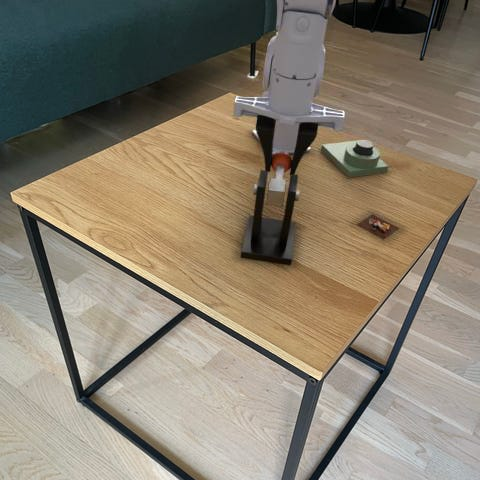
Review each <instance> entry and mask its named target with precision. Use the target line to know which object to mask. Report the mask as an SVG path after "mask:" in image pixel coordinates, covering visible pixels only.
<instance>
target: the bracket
mask: <svg viewBox="0 0 480 480" xmlns="http://www.w3.org/2000/svg"><path fill="white" fill-rule="evenodd" d="M268 175H269V172H268V171H267V170H265V169H260V172H259V177H258V181H257V183H254V184H253V190H252V195H253V196H255V199H254V201H255V202H254V210H253V215H249V216H248V219H247V224H246V229H245V232H244V237H243V241H242V245H241V250H240V258H243V259H248V260H256V261H261V262H268V263H275V264H282V265H288V266H291V265H292V262H293V256H294V247H295V237H296V236H295V235H296V228H297V221H292V218H293V214H294V213H293V212H294V207H295V202H299V199H300V194H301V193H300V192H301V191H300V189H298V182H299V181H298V180H299V174H296V173H295V174H291V175H289V176H290V178H289V182H288V188H287V194H286V199H285V200H286V201H285V204H284V205H285V206H284V211H283V218H282V219H278V218H277V219H276V218H270V217H263V214H264V207H265V199H266V192H267V185H268V184H267V183H268Z"/></svg>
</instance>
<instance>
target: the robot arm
mask: <svg viewBox="0 0 480 480" xmlns="http://www.w3.org/2000/svg"><path fill="white" fill-rule="evenodd" d="M336 1H337V0H276V23H275V30H277V32H276V34H275V35H274V36H273V37H271V38H270V41H269V42H268V43H267V49H266V53H265V58H264V66H263V74H262V84H261V87H262V89H263V90H264V91H263V93H262V94H261V96H251V97H250V96H238V95H236V96H235V99H234V101H233V111H232V112H233V113H232V116H233V117H237V118H241V117H242V116H244V117H245V116H246V117H252V118H256V121H255V122H256V123H255V129H253V130H252V134H253V136H255V138H256V139H257V140H258V141H259V143H260V146H261V148H262V154H263V160H264V170H267V171H268V173H270V172H271V168H272V166H271V159H272V157H273V155H274V154H275V153H277V152H279V151H284V152H287V153H288V154H289V155H290V154H293V155H292V157H291V158H292V165H291V168H290V169H289V176H291V174H295V175H296V171H297V168H298V167H299V165H300V162H301V160H302V159H303V157H304V155H305V154H306V152H310V151H311V150H312V148H311V147H310V146H311V145H312V144H313V143H314V141H316V138H317V136H318V130H319V127H322V128H330V129H333V131H337V132H342V131H343V127H344V123H345V118H346V117H345V115H346V114H345V111H344V110H339V109H336V108H335V109H334V108H331V107H327V106H324V105H320V104H317V103H314V98H316V97H317V96H318V95H320V91H321V87H322V83H323V77H324V70H325V61H326V60H325V59H326V54H327V53H326V52H327V51H326V49H325V45H324V42H325V37H326V32H327V26H328V20H329V18H331V17H332V14H333V11H334V9H335V5H336ZM327 7H328V15H327V14H326V10H327Z"/></svg>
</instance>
